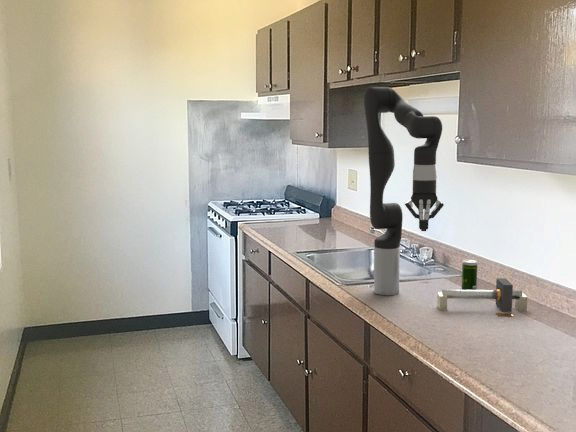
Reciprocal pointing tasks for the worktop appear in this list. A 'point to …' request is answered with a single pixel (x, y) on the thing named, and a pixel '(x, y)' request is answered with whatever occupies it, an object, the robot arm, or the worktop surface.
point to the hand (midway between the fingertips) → (423, 230)
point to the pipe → (481, 294)
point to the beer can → (469, 275)
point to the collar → (504, 294)
